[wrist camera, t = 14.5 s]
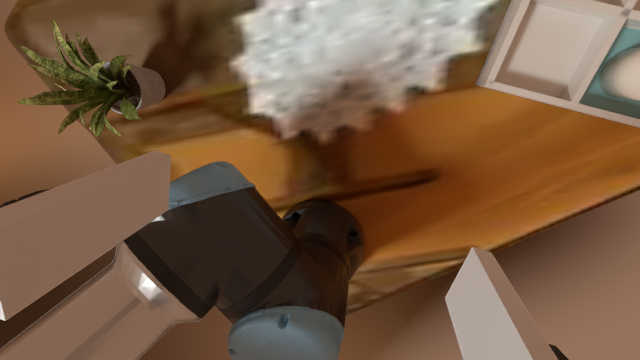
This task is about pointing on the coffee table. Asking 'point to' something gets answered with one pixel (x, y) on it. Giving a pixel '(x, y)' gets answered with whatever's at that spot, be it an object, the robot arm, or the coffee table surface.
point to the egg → (622, 75)
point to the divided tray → (564, 54)
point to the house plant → (96, 84)
